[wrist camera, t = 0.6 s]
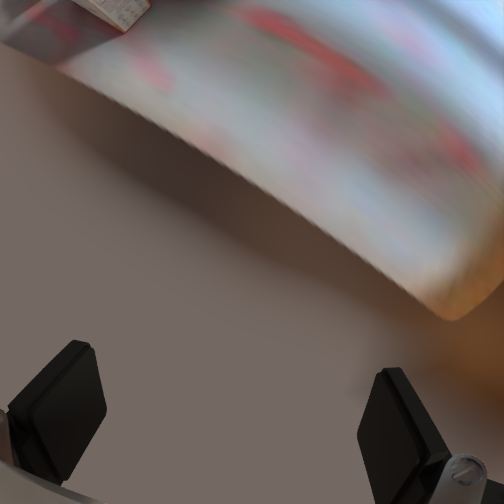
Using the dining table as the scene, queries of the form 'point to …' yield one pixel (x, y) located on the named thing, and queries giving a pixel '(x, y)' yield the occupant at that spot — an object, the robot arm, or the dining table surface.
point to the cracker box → (116, 11)
